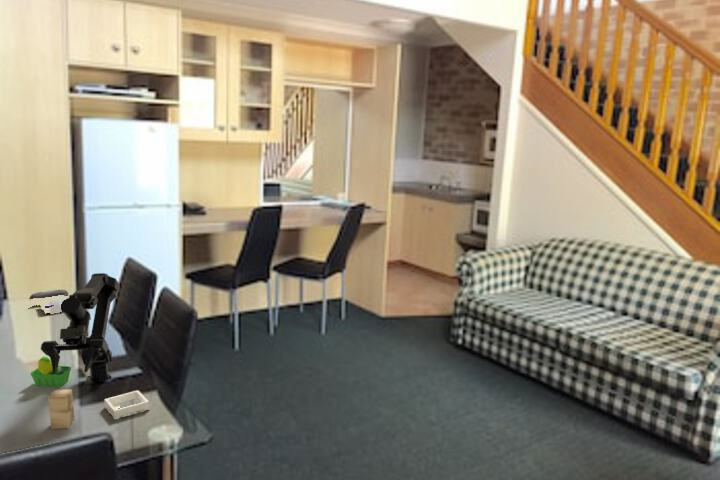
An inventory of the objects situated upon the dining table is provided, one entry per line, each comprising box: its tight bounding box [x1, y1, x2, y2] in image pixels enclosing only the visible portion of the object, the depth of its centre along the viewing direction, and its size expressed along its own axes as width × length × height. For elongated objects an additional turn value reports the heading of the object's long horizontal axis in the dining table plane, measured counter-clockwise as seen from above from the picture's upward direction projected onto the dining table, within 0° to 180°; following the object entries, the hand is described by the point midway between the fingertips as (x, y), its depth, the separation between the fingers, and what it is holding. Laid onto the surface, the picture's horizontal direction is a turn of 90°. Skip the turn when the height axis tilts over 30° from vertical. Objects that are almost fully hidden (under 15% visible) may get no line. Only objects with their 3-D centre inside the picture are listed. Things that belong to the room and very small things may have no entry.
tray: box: [104, 389, 150, 419], centre depth 187 cm, size 11×11×3 cm
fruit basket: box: [29, 355, 72, 388], centre depth 205 cm, size 11×9×11 cm
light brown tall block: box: [47, 388, 76, 430], centre depth 177 cm, size 5×5×10 cm
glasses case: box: [29, 289, 69, 300], centre depth 304 cm, size 18×10×8 cm, turn 127°
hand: (69, 372), depth 183 cm, fingers open, 9 cm apart
